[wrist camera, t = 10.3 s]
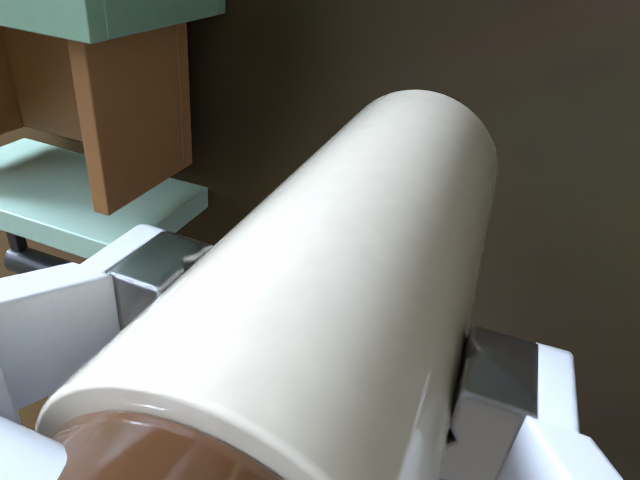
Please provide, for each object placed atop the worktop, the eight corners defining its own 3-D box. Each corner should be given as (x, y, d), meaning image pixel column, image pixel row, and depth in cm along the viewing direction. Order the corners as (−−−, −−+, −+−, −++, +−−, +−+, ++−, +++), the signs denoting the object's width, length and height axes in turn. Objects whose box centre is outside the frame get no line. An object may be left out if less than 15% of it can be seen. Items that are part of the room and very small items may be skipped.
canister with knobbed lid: (350, 74, 14) (-512, 661, 3) (520, 107, 13) (341, 1432, 1) (332, 217, 17) (-155, 853, 5) (474, 256, 16) (269, 1197, 4)
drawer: (210, 271, 30) (136, 345, 25) (42, 218, 33) (-57, 273, 28) (201, -87, 21) (78, -98, 15) (-32, -115, 24) (-206, -132, 18)
